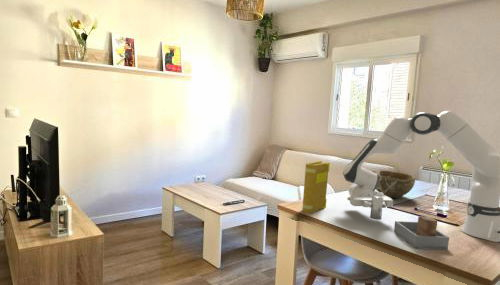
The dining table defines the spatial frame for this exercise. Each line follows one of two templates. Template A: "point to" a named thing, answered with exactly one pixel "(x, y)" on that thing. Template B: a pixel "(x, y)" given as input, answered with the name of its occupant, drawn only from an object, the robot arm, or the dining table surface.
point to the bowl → (394, 183)
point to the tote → (424, 242)
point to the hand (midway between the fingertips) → (377, 206)
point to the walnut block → (426, 226)
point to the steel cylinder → (376, 208)
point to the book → (315, 186)
